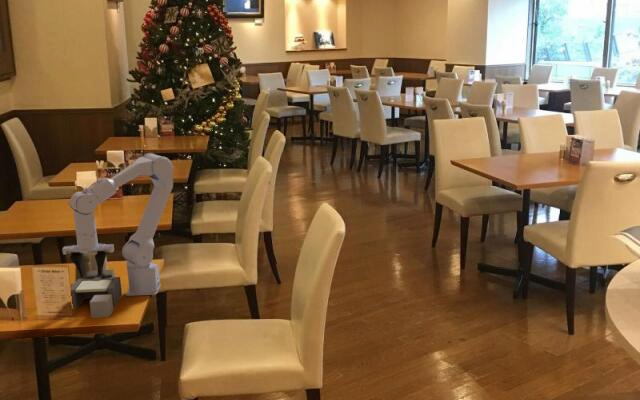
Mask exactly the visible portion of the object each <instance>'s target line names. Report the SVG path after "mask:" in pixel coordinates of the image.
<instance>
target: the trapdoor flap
mask: <svg viewBox="0 0 640 400" xmlns="http://www.w3.org/2000/svg"><path fill="white" fill-rule="evenodd" d="M108 277H116V275H115V270H114V269H108V270H103V274H102V275H101V276H98V270H93V271H87V273H86V278H94V280H95V281H82V282H81V283H80V285H79V286H78V287H77V289H76V290H75V291H76V292H96V291H107V288H108V287H109V285H110V284H111V282H112V280H101V278H108Z"/></svg>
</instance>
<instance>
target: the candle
mask: <svg viewBox="0 0 640 400" xmlns="http://www.w3.org/2000/svg"><path fill="white" fill-rule="evenodd" d="M96 254H97V252H96V253H89V255H90V260H89V264H90V268H91V271H93V270H98V268H97V262H96V259H95V255H96ZM103 270H109V267H108V260H107V256H106V257H105V261H104V265H103Z"/></svg>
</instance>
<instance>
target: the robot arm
mask: <svg viewBox="0 0 640 400" xmlns="http://www.w3.org/2000/svg"><path fill="white" fill-rule="evenodd" d="M174 170H175V167H174V165H173V163H172V161H171V160H170V159H169V158H168V157H166V156H161V155H159V154H155V153H153V152H148V153H146V154H144V155H143V156H140V157H138V158H137V159H136V160H135V161H134V162H132V163H131V164H130V165H128V166H126V167H125V168H124V169H122V170H121V171H119V172H117V173H116V174H115V175H114V176H112V177H111V178H108V177H99V178H97V179H96V182H95V183H93V184H91V185H90V186H89V187H84V188H82V190H83V191H76V192H74V193H73V194H71V195H72V196H71V197H70V199H69V202H68V206H69V207H70V209H71V210H72V211H73V220H74V221H73V222H74V227H75V228H74V229H75V236H76V245H67V246H63V247H62V249H61V251H62V254H63V255H68V254H69V255H70V257H69V258H70V260H71V261H72V263H73V264H74V265H75V268H76V267H77V269H78V271H79V273H80V276H81V277H83V276H84V275H85V269H84V261H83V253H96V252H97V254H96V255H95V259H96V262H97V268H98V276H101V275H102V274H103V265H104V261H105V257H106V258H107V254H108V253H113V252H114V251H115V246H114V244H113V243H110V244H107V243H106V244H105V243H99V241H98V234H97V233H98V232H97V225H96V217H95V210H96V208H97V206H98V205H100V204H102V203H103V202H104V201H106V200H107V199H109V198H111V197H112V196H114V195H115V194H116V193H117V189H118V188H119V187H122V186H123V185H125V184H127V183H128V182H130V181H132V180H134V179H136V178H137V177H139V176H148V177H149V178H150V180H151V181H152V184H153V188H152V190H151V191H152V192H151V194H150V196H149V199H148V201H147V204H146V207H145V209H144V211H143V214H142V217H141V219H140V221H139V224H138V227H137V229H136V232H135V233H133V234H132V235H131V236H130V237H129V239H128V241H127V242H126V243H125V244H124V246H122V249H121V251H122V252H121V253H122V254H121V255H122V256H123V258H124V259H125V260H126V270H127V280H128V288H129V289H128V290H127V291H126V294H125V296H126V297H129V296H130V297H131V296H132V297H133V296H149V295H151V296H154V295H157V294H158V293H159V290H160V288H161V286H162V285H161V280H160V279H161V277H160V276H161V275H160V268H159V265H158V263H154V262H152V261H153V258H154V250H155V243H154V239H153V238H154V236H155V233H156V230H157V229H158V226H159V224H160V220H161V217H162V216H163V213H164V211H165V208H166V207H167V206H166V205H167V203H168V200H169V198H170V196H171V192H172V190H173V188H174V176H173V173H174Z"/></svg>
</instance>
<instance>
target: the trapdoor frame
mask: <svg viewBox="0 0 640 400" xmlns="http://www.w3.org/2000/svg"><path fill="white" fill-rule="evenodd" d="M101 280H112V282H111V284H110V285H109V287H108V288H107V291H96V292H76V291H75V290H76V289H77V287H78V286H79V285H80V283H81V282H82V281H95V280H94V278H86V279H77V281H76V282H74V283H73V285H72V286H70V288H71V296H72V304H73V308H74V309H73V310H76V309H78V308H79V306H80V305H81V304H82V302H83V300H84V299H92V298H93V297H94V295H110V294H112V302H113V308H115V307H116V306H117V304H118V303H119V300H120V299H121V298H122V296H123V291H122V290H123V289H122V283H121V282H122V281H121V276H115V277H108V278H101Z"/></svg>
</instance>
